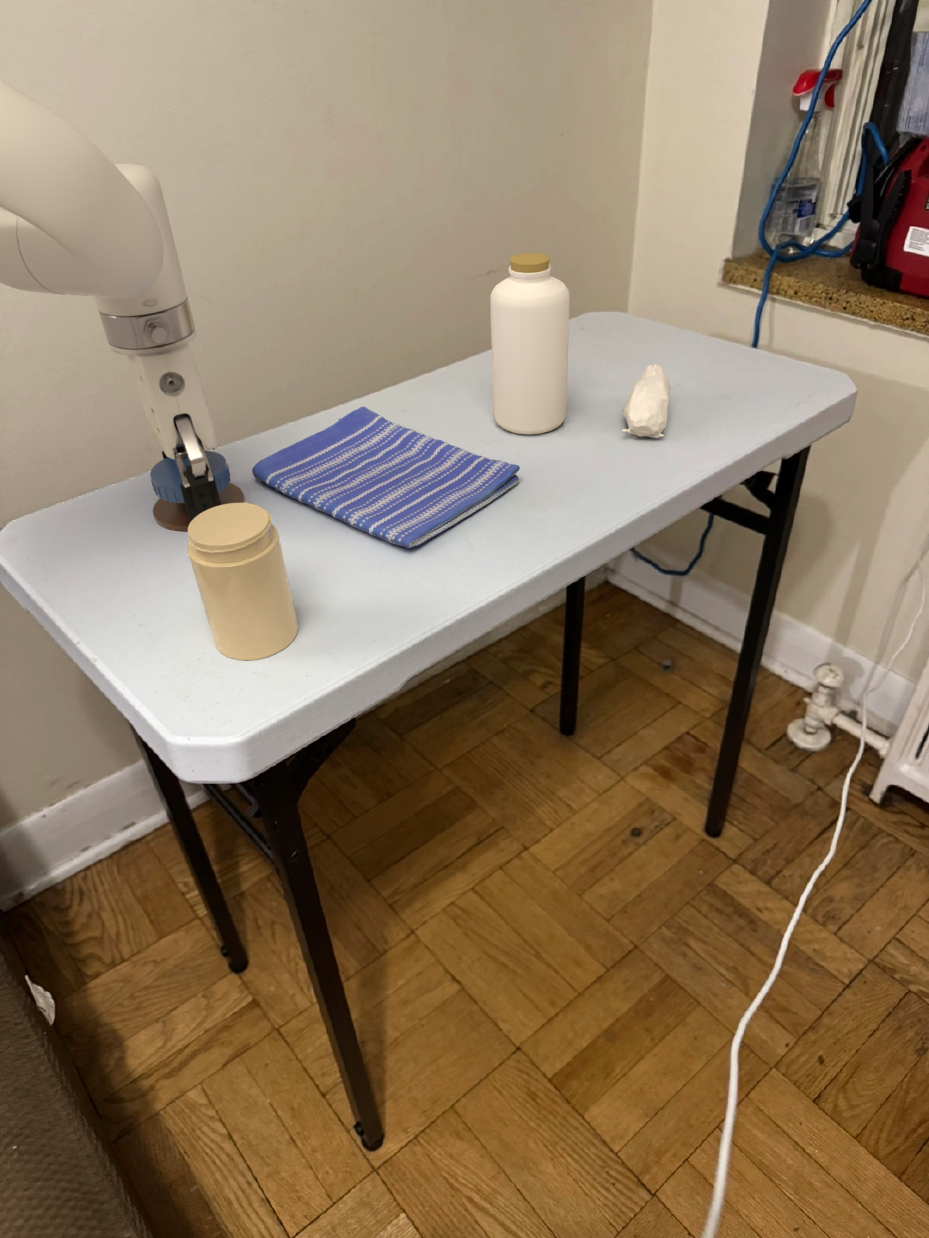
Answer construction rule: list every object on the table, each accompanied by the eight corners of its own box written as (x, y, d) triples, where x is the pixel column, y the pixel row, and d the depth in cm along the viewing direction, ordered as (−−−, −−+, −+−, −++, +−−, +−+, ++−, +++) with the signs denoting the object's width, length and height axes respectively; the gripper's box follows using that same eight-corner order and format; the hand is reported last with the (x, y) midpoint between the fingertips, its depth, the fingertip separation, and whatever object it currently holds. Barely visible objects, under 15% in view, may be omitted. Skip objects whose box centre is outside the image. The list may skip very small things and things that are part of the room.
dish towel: (365, 423, 101) (362, 401, 99) (525, 482, 88) (525, 457, 86) (247, 482, 91) (242, 458, 89) (408, 558, 78) (405, 531, 77)
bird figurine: (619, 416, 102) (619, 434, 93) (634, 358, 99) (636, 371, 90) (660, 425, 102) (664, 444, 93) (677, 367, 99) (683, 381, 90)
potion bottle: (519, 401, 104) (517, 243, 93) (579, 416, 100) (585, 253, 89) (479, 427, 99) (473, 264, 88) (541, 444, 95) (543, 275, 84)
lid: (220, 460, 90) (216, 443, 88) (239, 490, 84) (235, 473, 83) (148, 478, 87) (142, 461, 86) (163, 510, 82) (158, 493, 81)
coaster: (165, 541, 83) (163, 535, 82) (146, 500, 89) (144, 495, 89) (255, 514, 86) (254, 509, 85) (231, 477, 92) (230, 472, 92)
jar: (227, 671, 67) (194, 558, 61) (205, 624, 72) (172, 515, 66) (309, 642, 70) (286, 530, 63) (283, 599, 74) (259, 491, 68)
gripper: (216, 344, 71) (258, 528, 82) (170, 290, 83) (211, 456, 94) (123, 364, 68) (179, 551, 79) (89, 305, 81) (142, 474, 92)
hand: (196, 498), depth 87 cm, fingers closed on lid, 7 cm apart
